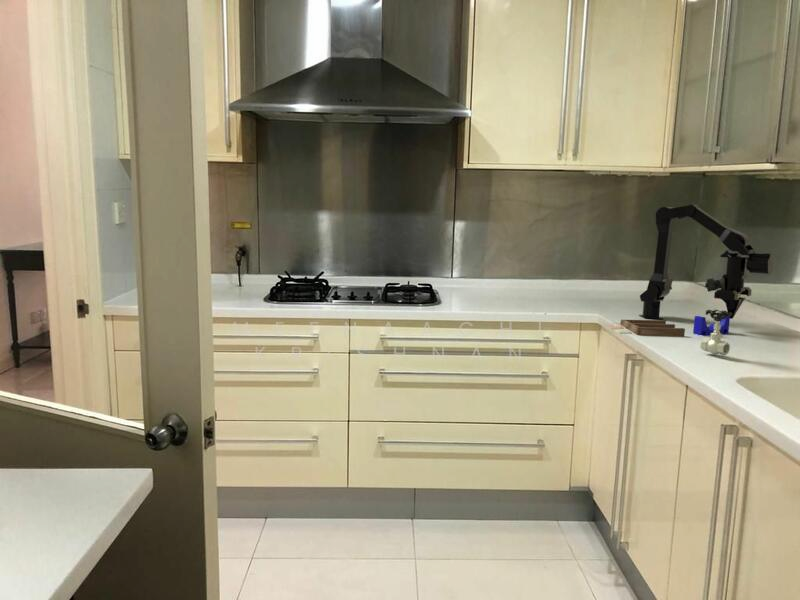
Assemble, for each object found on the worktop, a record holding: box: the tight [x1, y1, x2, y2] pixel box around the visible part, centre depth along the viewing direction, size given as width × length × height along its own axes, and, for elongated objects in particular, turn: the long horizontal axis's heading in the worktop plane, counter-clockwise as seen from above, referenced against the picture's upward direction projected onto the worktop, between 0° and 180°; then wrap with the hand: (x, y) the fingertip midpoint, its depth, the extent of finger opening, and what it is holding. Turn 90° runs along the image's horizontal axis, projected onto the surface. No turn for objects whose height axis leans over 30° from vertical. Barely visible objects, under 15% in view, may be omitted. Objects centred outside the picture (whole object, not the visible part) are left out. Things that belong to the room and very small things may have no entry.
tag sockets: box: [608, 319, 686, 337], centre depth 213 cm, size 15×20×2 cm
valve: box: [700, 309, 732, 356], centre depth 181 cm, size 7×7×12 cm
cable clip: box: [692, 315, 731, 336], centre depth 212 cm, size 12×4×6 cm, turn 112°
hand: (730, 318), depth 217 cm, fingers closed
